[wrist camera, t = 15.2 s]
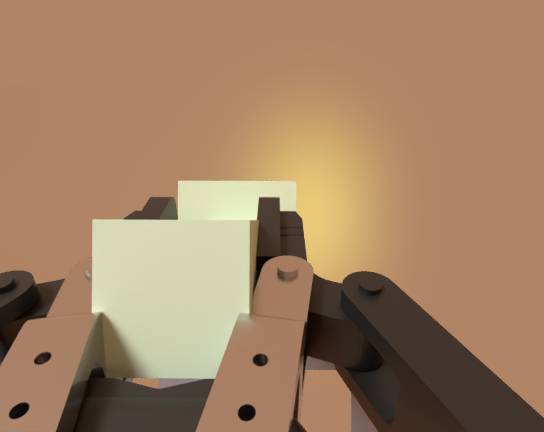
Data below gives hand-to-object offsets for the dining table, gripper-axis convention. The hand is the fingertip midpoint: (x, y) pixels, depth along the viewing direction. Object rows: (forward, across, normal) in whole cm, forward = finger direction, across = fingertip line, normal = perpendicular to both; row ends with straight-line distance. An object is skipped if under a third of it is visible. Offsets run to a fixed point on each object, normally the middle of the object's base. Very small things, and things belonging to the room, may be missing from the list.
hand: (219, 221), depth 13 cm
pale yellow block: (0, 0, -4) cm, 4 cm away
